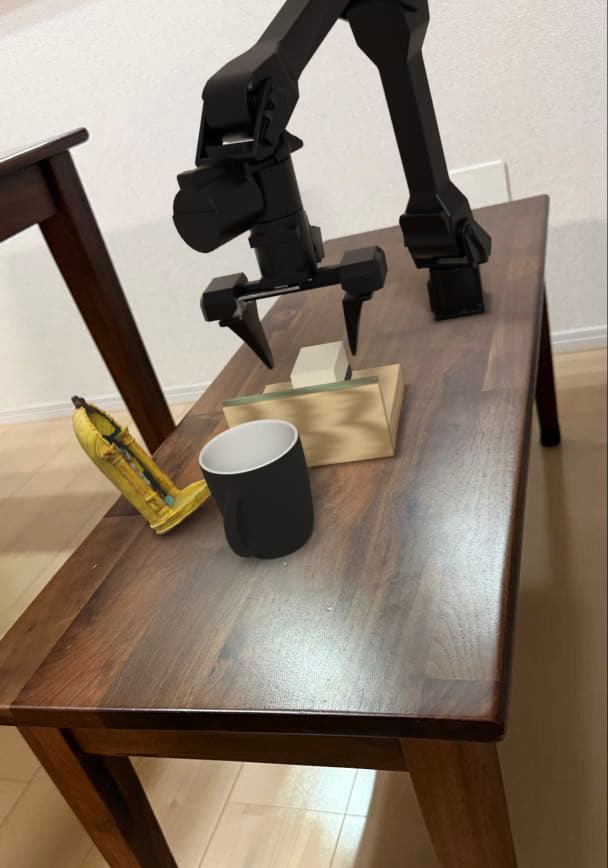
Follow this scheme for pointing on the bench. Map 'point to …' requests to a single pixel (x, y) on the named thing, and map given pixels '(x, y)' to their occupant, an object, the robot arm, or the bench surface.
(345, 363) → the cream stepped block
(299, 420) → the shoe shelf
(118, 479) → the shrine
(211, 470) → the mug
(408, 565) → the bench surface
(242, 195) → the robot arm
